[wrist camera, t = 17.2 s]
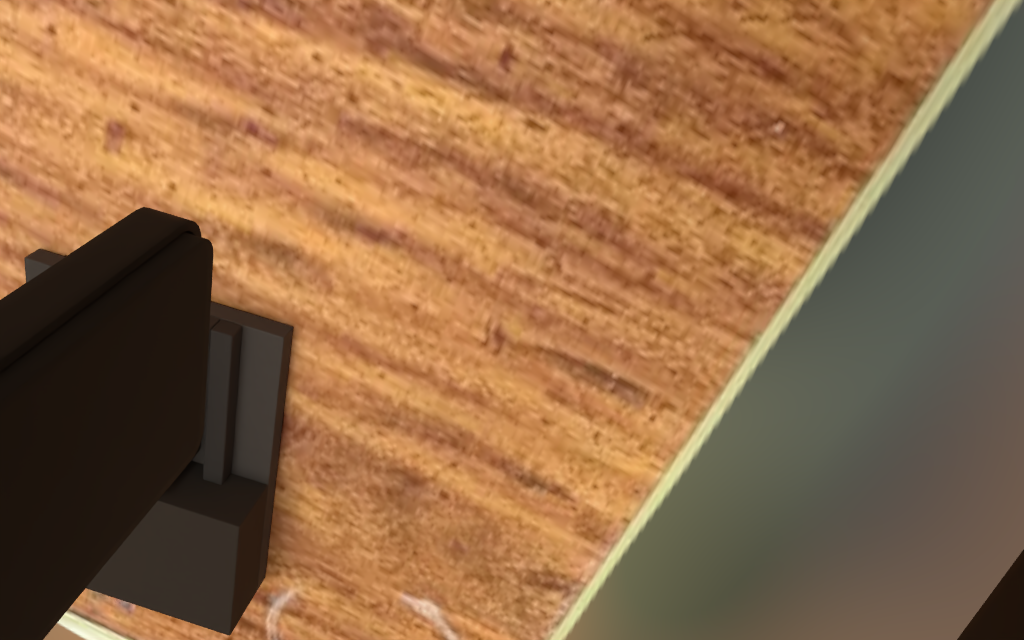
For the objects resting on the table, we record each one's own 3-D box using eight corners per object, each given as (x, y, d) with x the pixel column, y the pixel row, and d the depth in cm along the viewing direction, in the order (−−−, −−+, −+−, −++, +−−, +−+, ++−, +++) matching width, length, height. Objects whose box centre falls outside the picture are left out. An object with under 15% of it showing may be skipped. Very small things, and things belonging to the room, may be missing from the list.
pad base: (38, 248, 39) (-26, 288, 36) (293, 326, 39) (252, 374, 35) (54, 508, 47) (3, 561, 44) (265, 577, 47) (229, 636, 43)
